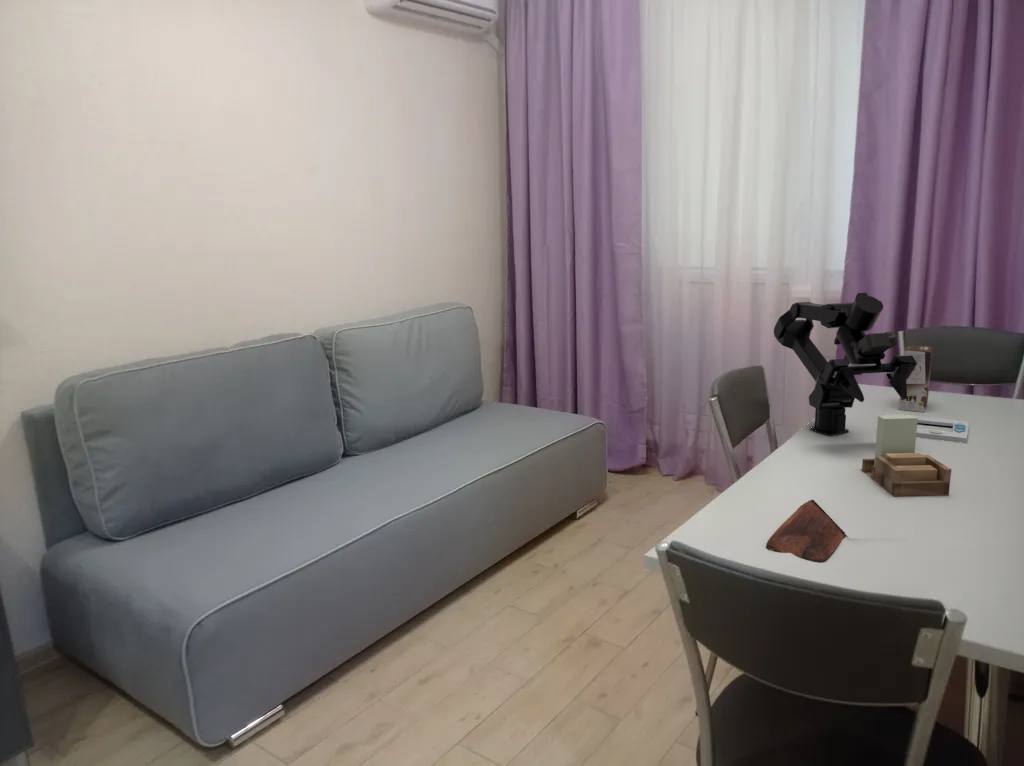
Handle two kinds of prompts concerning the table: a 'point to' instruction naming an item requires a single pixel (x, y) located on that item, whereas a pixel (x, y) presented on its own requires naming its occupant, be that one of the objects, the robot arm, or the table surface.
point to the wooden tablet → (807, 534)
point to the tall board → (895, 434)
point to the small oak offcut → (918, 473)
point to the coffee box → (918, 379)
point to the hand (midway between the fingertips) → (884, 399)
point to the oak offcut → (906, 459)
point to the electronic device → (956, 435)
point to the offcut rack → (892, 483)
